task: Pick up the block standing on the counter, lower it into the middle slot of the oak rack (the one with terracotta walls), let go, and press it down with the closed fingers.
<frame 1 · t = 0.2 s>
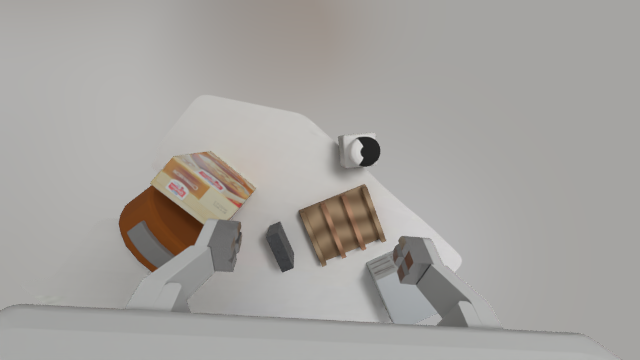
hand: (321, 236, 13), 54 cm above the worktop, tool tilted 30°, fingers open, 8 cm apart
supplement box: (395, 276, 74), on the worktop
coffeecake box: (225, 179, 65), on the worktop
brown rounded piece: (187, 223, 66), on the worktop
block: (282, 239, 69), on the worktop
rack: (341, 223, 69), on the worktop
container: (353, 149, 67), on the worktop
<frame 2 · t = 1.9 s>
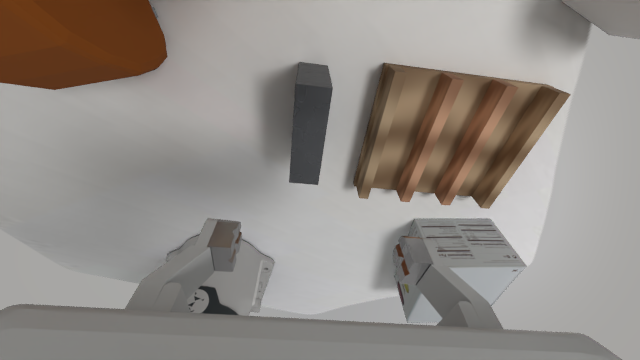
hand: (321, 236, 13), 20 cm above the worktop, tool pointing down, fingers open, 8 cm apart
supplement box: (435, 248, 46), on the worktop
block: (309, 109, 30), on the worktop
rack: (438, 139, 32), on the worktop
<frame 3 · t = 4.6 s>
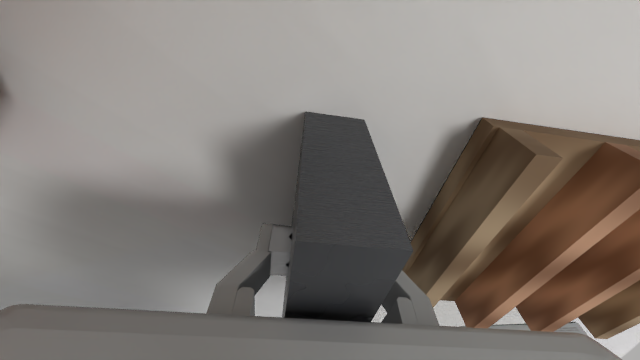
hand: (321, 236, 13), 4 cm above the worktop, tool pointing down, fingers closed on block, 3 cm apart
supplement box: (488, 348, 33), on the worktop
block: (320, 191, 16), on the worktop, touching gripper
rack: (544, 236, 18), on the worktop
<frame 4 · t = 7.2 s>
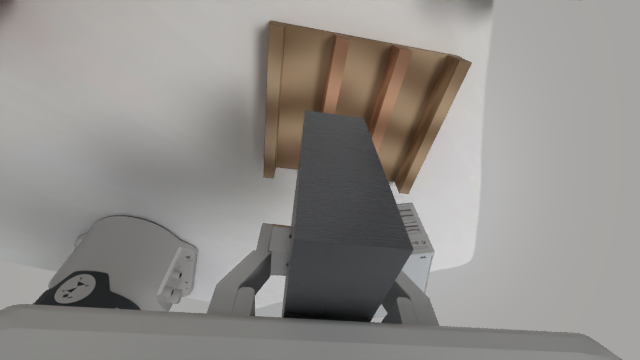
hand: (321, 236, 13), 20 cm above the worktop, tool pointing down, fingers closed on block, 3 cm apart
supplement box: (370, 240, 44), on the worktop
block: (319, 190, 15), point 16 cm above the worktop, touching gripper
rack: (349, 114, 30), on the worktop
when the fingers open (6 cm above the worktop, at t = 9.6 s): block drops 1 cm, resting on rack.
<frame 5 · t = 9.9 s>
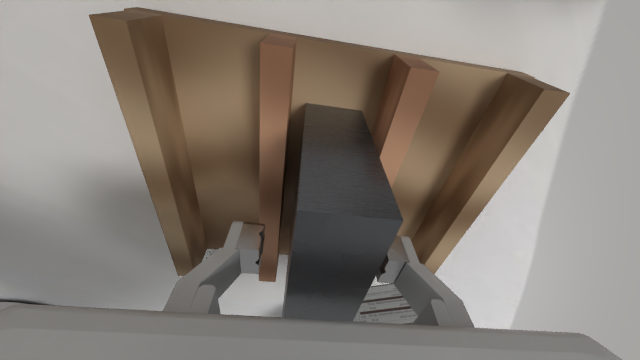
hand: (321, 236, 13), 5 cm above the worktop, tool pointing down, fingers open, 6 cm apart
supplement box: (365, 319, 32), on the worktop
block: (320, 180, 16), point 1 cm above the worktop, touching rack
rack: (320, 173, 17), on the worktop
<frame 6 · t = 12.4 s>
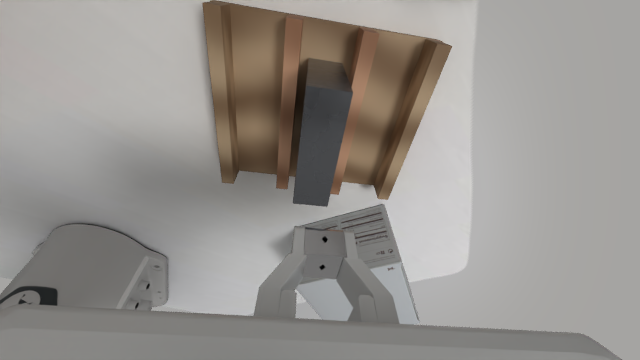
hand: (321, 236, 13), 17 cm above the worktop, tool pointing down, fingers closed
supplement box: (354, 248, 40), on the worktop
block: (317, 113, 25), point 1 cm above the worktop, touching rack
rack: (317, 111, 26), on the worktop
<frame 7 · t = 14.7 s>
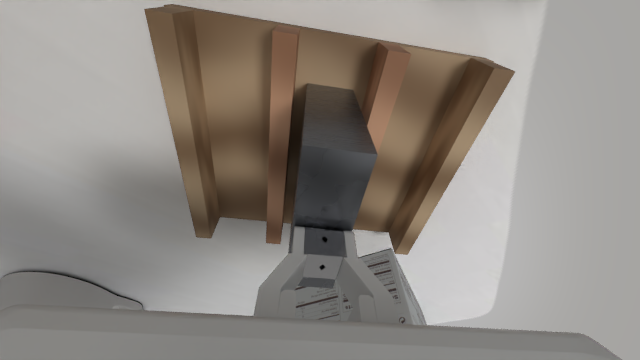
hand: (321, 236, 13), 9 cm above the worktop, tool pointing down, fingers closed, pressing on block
supplement box: (361, 292, 34), on the worktop
block: (319, 152, 19), point 1 cm above the worktop, touching gripper, rack
rack: (319, 147, 20), on the worktop
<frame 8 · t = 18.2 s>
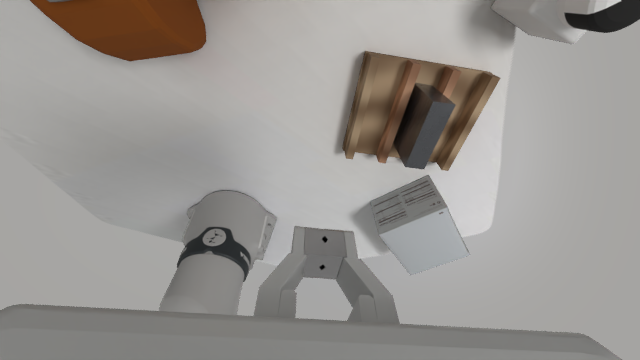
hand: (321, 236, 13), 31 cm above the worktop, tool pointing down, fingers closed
supplement box: (411, 211, 56), on the worktop
block: (410, 115, 41), point 1 cm above the worktop, touching rack
rack: (408, 113, 41), on the worktop
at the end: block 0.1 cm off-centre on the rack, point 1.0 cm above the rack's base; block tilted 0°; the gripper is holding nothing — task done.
